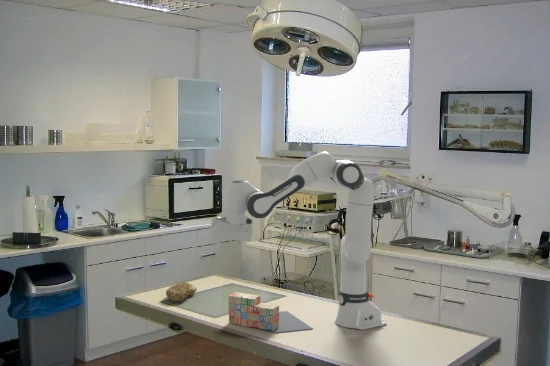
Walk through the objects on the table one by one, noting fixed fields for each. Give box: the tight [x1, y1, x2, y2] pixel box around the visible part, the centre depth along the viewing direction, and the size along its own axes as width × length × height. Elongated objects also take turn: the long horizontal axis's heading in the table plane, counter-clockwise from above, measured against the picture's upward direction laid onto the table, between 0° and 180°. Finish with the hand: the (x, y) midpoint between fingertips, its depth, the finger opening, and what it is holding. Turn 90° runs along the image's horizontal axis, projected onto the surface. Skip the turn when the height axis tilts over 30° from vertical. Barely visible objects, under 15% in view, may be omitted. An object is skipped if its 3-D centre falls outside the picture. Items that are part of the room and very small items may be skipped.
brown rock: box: [165, 281, 197, 302], centre depth 302 cm, size 13×8×20 cm
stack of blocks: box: [228, 291, 280, 332], centre depth 264 cm, size 21×6×12 cm, turn 62°
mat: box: [269, 310, 314, 334], centre depth 271 cm, size 18×26×1 cm
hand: (227, 249), depth 263 cm, fingers open, 8 cm apart
